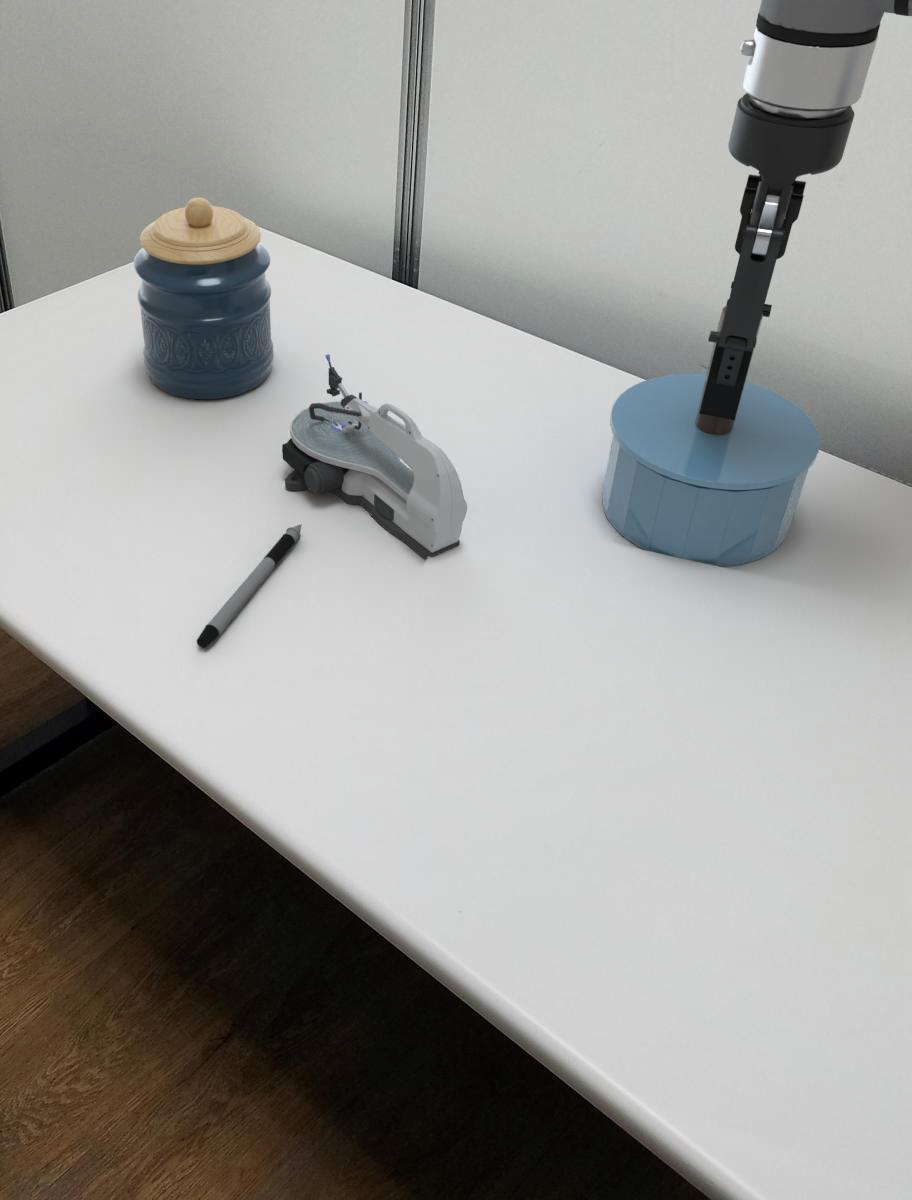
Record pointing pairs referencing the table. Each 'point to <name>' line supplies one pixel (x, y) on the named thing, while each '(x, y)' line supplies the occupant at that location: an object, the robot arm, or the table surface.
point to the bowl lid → (714, 433)
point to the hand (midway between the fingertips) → (720, 402)
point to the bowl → (695, 514)
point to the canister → (204, 302)
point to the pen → (248, 587)
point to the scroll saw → (377, 468)
